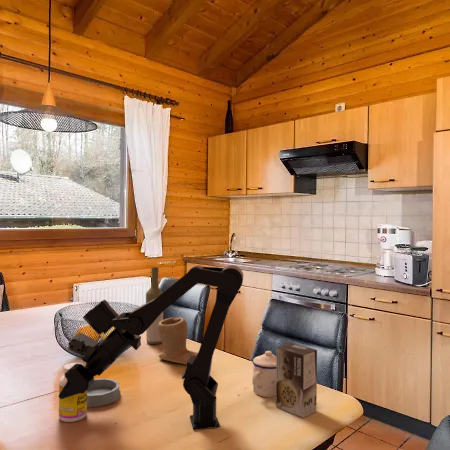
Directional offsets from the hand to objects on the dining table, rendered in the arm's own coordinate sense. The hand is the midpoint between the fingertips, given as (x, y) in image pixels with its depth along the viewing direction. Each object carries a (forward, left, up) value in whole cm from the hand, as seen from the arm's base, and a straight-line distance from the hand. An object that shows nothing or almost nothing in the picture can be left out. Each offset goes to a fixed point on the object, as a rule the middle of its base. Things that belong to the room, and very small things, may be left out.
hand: (68, 389), depth 105 cm
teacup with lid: (+4, -53, -7) cm, 54 cm away
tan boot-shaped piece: (+35, -31, -7) cm, 48 cm away
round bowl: (+10, -6, -7) cm, 14 cm away
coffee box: (-7, -58, -7) cm, 59 cm away
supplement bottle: (0, -1, -7) cm, 7 cm away
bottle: (+58, -24, -7) cm, 64 cm away
